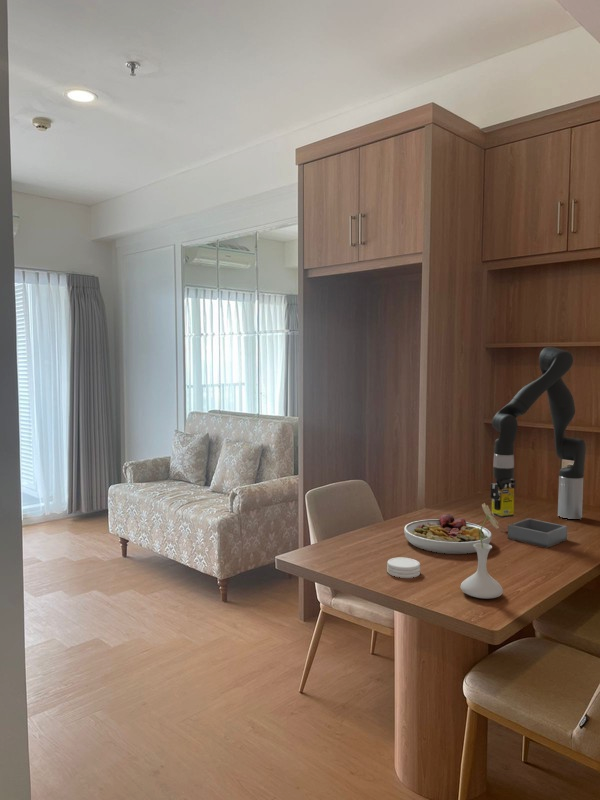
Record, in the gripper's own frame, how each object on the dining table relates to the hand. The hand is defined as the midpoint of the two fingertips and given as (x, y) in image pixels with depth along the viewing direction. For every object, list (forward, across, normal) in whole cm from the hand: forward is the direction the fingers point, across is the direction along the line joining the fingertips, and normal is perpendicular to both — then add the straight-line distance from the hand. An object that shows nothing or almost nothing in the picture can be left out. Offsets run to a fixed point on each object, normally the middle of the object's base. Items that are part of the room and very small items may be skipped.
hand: (502, 507), depth 235 cm
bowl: (+8, -32, +3) cm, 33 cm away
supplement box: (+3, 0, 0) cm, 3 cm away
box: (+8, -2, -15) cm, 18 cm away
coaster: (+8, -68, -6) cm, 68 cm away
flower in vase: (+7, -64, -31) cm, 72 cm away
